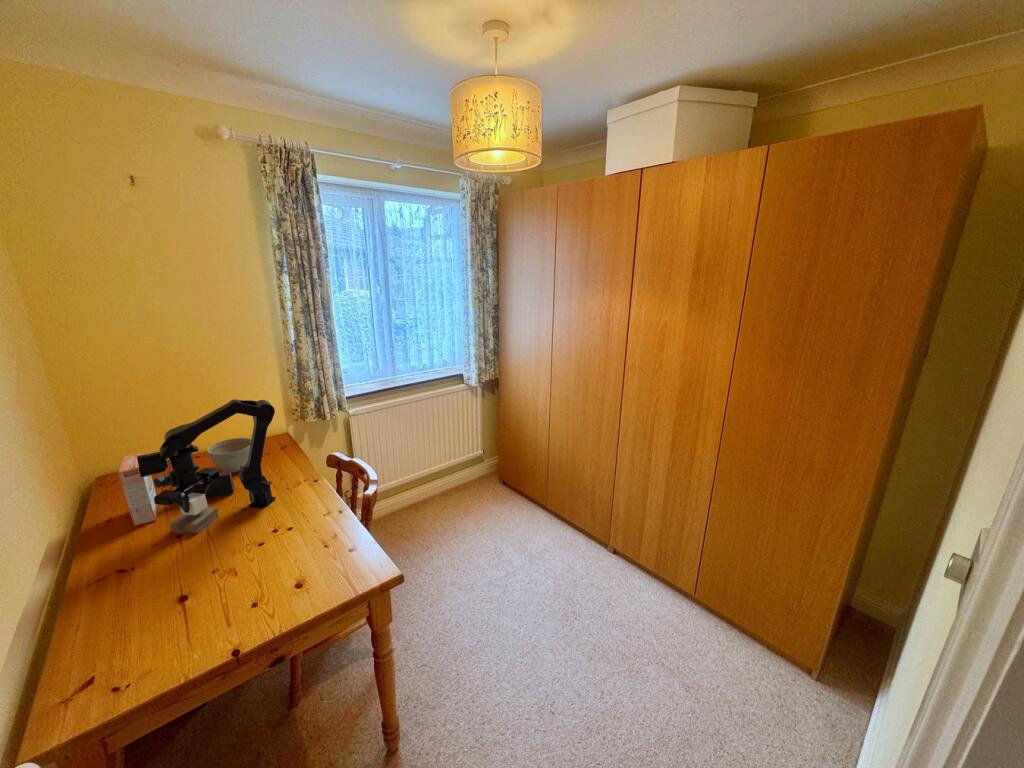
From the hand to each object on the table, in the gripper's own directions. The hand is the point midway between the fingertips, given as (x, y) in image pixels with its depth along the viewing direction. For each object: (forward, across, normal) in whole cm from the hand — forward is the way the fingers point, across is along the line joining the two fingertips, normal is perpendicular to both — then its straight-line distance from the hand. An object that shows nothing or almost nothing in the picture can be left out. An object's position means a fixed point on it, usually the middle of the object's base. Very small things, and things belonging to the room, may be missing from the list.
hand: (194, 507), depth 134 cm
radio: (+7, -16, -10) cm, 19 cm away
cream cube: (+1, 0, 0) cm, 1 cm away
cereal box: (+7, -2, -23) cm, 24 cm away
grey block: (+7, 0, 0) cm, 7 cm away
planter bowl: (+7, -36, -18) cm, 41 cm away
